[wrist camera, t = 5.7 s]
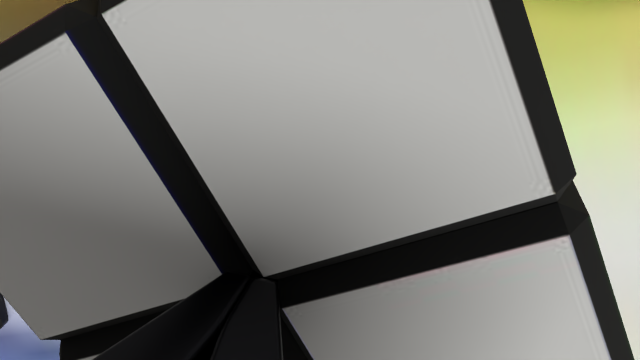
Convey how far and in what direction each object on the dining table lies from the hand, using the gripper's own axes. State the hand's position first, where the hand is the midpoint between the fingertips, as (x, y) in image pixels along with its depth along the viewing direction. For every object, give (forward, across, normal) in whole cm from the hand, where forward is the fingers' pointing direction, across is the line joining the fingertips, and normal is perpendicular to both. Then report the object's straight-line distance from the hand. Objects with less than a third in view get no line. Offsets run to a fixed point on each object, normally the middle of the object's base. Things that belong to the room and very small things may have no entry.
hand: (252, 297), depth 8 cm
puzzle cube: (+10, 0, 0) cm, 10 cm away
